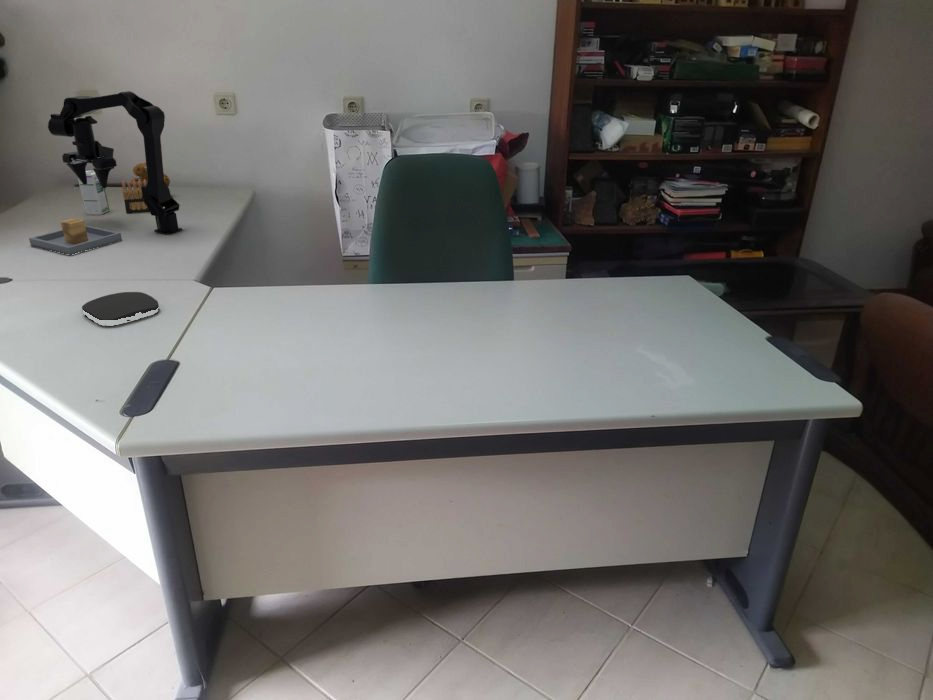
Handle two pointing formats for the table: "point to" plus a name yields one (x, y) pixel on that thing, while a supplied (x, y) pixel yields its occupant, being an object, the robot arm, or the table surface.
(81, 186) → the syrup box
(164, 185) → the robot arm
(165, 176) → the stuffed squirrel
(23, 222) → the table surface
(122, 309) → the media streaming box
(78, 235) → the block
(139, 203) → the ammunition clip
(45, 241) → the tray
